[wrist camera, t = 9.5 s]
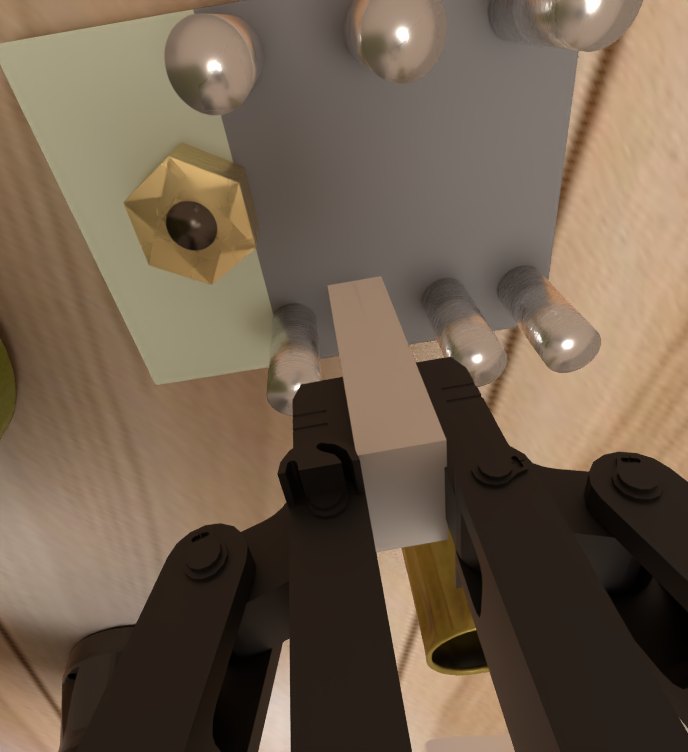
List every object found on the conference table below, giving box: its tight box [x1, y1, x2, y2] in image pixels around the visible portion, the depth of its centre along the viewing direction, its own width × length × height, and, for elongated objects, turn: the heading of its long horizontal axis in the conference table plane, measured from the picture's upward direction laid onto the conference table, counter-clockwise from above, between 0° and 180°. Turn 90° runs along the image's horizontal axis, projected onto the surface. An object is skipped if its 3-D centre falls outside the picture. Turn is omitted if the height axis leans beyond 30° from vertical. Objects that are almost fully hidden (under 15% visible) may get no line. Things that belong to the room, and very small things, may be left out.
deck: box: [0, 0, 579, 385], centre depth 23 cm, size 22×16×2 cm
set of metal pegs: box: [164, 0, 643, 416], centre depth 19 cm, size 14×14×6 cm
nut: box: [123, 142, 259, 285], centre depth 20 cm, size 5×5×3 cm
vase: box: [402, 527, 490, 675], centre depth 29 cm, size 6×6×14 cm
